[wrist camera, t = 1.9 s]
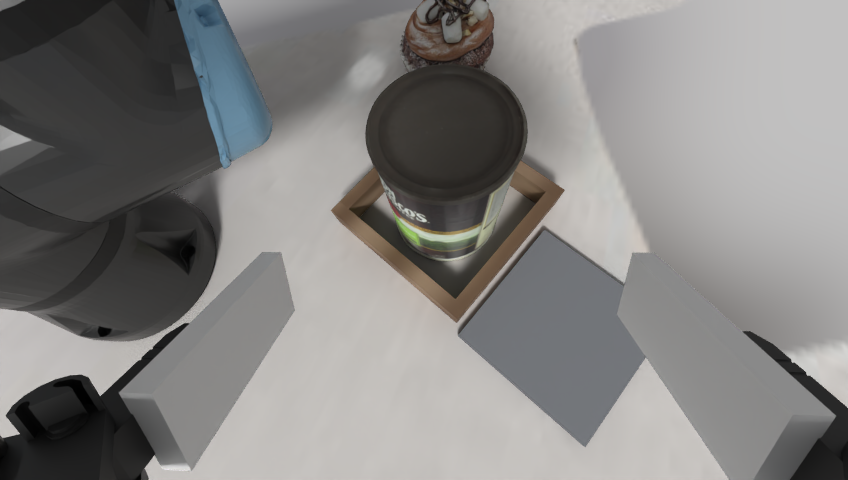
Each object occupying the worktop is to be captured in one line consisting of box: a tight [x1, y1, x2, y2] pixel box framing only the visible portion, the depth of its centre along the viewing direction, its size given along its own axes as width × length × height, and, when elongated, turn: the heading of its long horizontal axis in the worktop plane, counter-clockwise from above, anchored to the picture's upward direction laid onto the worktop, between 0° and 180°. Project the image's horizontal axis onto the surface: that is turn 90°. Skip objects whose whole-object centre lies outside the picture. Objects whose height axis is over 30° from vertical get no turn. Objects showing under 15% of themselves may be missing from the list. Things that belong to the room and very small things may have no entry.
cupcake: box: [400, 0, 494, 73], centre depth 36 cm, size 10×10×10 cm
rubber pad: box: [458, 230, 646, 447], centre depth 31 cm, size 13×13×1 cm
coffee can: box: [366, 64, 528, 261], centre depth 29 cm, size 10×10×14 cm
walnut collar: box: [331, 160, 564, 323], centre depth 34 cm, size 15×15×3 cm
